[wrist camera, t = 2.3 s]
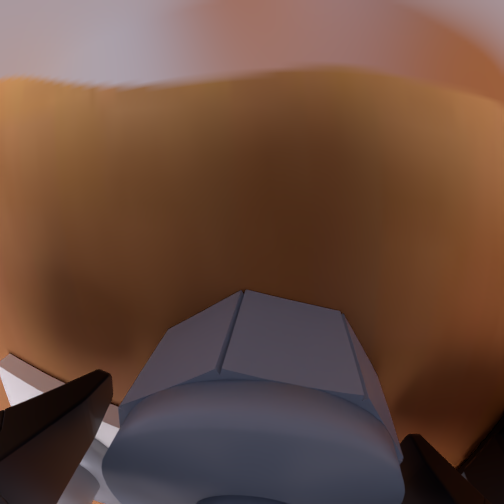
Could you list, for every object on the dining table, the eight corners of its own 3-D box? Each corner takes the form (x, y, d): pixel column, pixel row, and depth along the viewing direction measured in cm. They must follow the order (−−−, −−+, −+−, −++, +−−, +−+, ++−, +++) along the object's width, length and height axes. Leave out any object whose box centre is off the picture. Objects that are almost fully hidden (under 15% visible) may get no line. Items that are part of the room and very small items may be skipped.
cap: (402, 323, 8) (478, 465, 3) (326, 461, 10) (331, 574, 5) (173, 270, 8) (62, 397, 4) (159, 426, 10) (111, 535, 6)
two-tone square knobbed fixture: (167, 424, 10) (122, 532, 6) (163, 503, 13) (139, 572, 8) (9, 353, 11) (-58, 414, 6) (42, 450, 13) (6, 503, 8)
